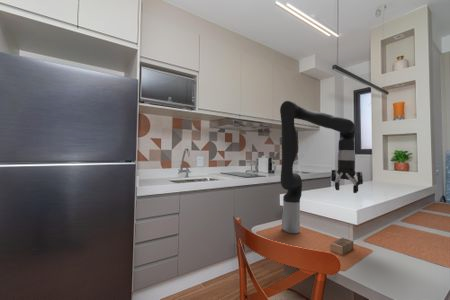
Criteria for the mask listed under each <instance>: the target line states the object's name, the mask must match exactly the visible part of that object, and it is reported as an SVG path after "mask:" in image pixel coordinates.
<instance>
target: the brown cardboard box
mask: <svg viewBox="0 0 450 300" xmlns="http://www.w3.org/2000/svg"><path fill="white" fill-rule="evenodd" d="M329 244H330V246H329V247H330V249H329V250H330V252H333V253H335V254H338V255H341V256H343V255H345V254H347V253H348V252H351V251H352V250H354V241H353V240H350V239H348V238H344V237H341V238H339V239H336V240H334V241H332V242H330V243H329Z"/></svg>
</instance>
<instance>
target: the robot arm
mask: <svg viewBox="0 0 450 300" xmlns="http://www.w3.org/2000/svg"><path fill="white" fill-rule="evenodd" d="M279 108H280V109H279V111H280V112H279V113H280V121H281V170H280V185H281V187H282V189H284V190H286V193H285V194H284V195H283V199H282V200H283V203H282V205H283V207H282V208H283V210H282V211H283V212H282V213H281V230H282V231H284V232H285V233H289V234H298V233H299V234H300V233H301V197H302V192H303V191H302V188H303V181H302V177H301V176H300V174H298V173H294V172H293V171H294V169H293V167H294V163H295V160H296V158H297V155H298V152H299V138H298V134H297V133H298V132H297V131H296V128H295V127H296V126H295V119H297V120H303V121H306V122H307V123H311V124H314V125H317V126H320V127H321V128H322V127H323V128H325V129H330V130H332V131H337V132H339V140H338V145H337V146H338V152H337V169H332V170H331V175H330V176H331V177H330V179H331V181H332V182H334V188H335V190H336V191H340V182H341V180H346V181H350V182H351V183H352V184H353V185H352V186H353V187H352V188H353V189H352V192H353V194H357V193H358V192H359V186H360V185H363V183H364V181H363V172H362V171H356V152H355V135H356V125H355V123H354V122H353V121H352V120H351V119H349V118H346V117H345V118H343V117H339V116H334V115H331V114H329V113H326V112H321V111H315V110H310V109H307V108H304V107H301V106H300V105H298V104H297V103H296V102H293V101H291V100H284V101H283V102H282V104H281V105H280V107H279ZM355 175H356V177H357V178H356V177H355Z"/></svg>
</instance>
